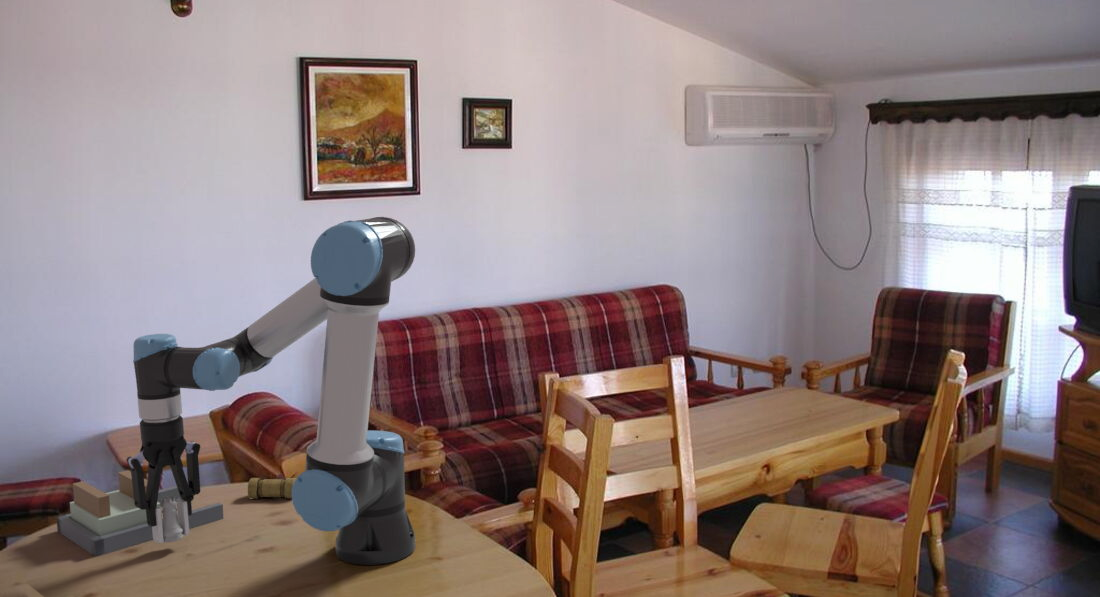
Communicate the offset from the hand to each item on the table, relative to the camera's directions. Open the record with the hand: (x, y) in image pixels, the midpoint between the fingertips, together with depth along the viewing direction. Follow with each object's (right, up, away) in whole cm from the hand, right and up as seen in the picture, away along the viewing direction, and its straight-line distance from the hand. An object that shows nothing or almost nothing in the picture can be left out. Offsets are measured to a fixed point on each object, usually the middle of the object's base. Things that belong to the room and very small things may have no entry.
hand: (171, 536), depth 190 cm
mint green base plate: (-14, -1, +9) cm, 17 cm away
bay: (-11, -2, +13) cm, 17 cm away
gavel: (+11, +2, +39) cm, 41 cm away
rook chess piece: (0, -1, 0) cm, 1 cm away
